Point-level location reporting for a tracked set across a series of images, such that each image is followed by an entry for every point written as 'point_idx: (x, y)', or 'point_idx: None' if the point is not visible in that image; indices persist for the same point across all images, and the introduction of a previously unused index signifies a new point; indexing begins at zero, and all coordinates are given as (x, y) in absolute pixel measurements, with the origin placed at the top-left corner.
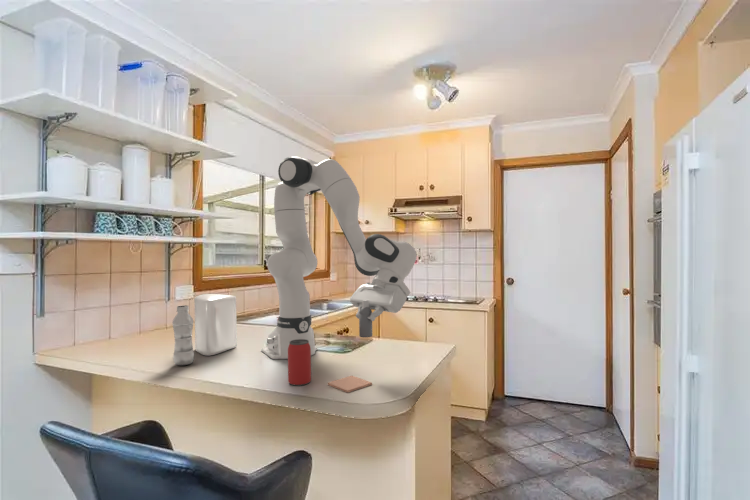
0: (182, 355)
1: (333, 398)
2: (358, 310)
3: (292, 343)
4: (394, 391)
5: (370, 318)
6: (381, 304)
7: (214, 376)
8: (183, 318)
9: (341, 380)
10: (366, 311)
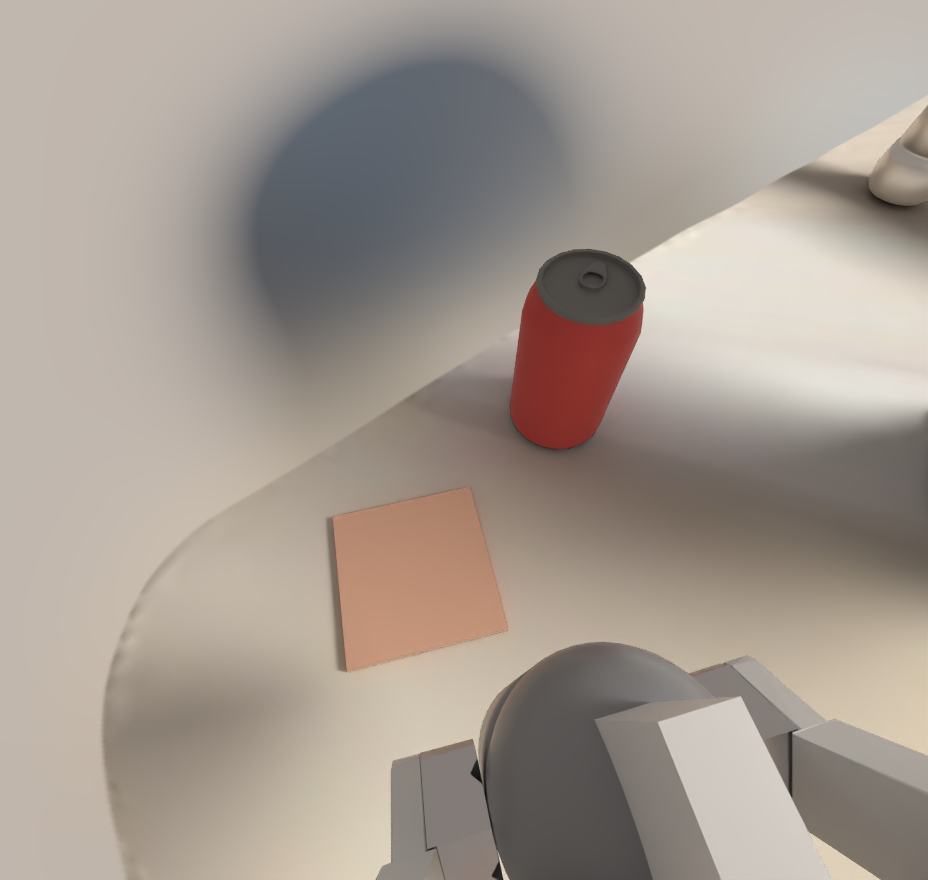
0: (890, 154)
1: (321, 455)
2: (842, 731)
3: (562, 253)
4: (191, 727)
5: (399, 761)
6: None
7: (731, 240)
8: None
9: (463, 548)
10: (504, 739)
